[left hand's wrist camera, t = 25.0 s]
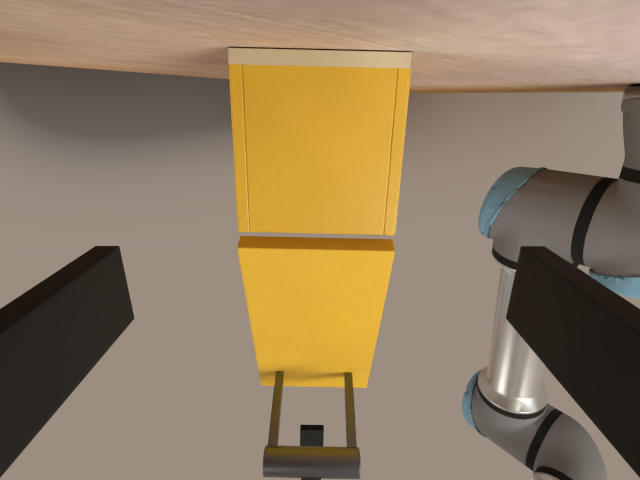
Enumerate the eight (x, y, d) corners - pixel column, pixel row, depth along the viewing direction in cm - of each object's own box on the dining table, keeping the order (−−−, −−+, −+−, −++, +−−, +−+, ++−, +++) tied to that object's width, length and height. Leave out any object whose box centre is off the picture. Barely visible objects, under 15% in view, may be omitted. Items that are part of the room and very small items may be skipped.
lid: (365, 376, 36) (375, 489, 29) (262, 373, 36) (246, 486, 29) (392, 239, 24) (420, 371, 17) (240, 235, 24) (204, 366, 17)
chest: (372, 75, 36) (365, 182, 39) (269, 72, 36) (271, 179, 39) (413, 52, 20) (395, 235, 23) (227, 47, 20) (237, 232, 23)
